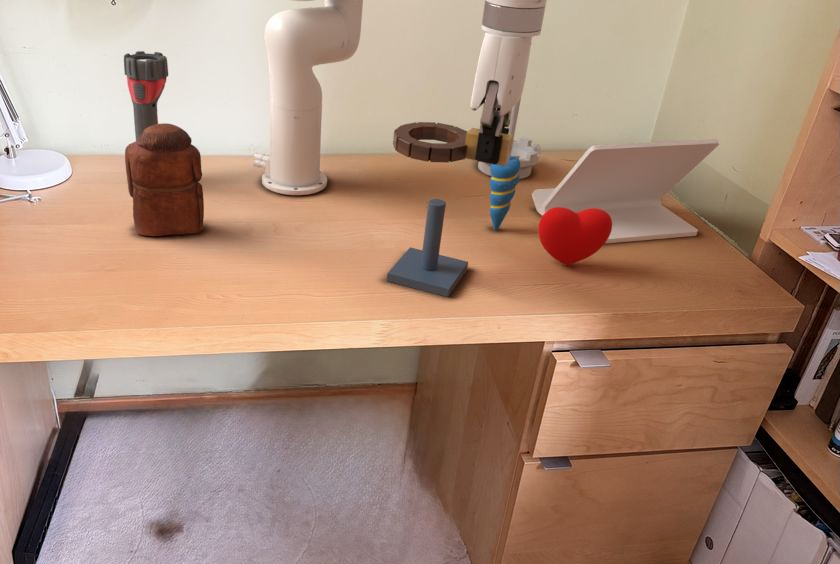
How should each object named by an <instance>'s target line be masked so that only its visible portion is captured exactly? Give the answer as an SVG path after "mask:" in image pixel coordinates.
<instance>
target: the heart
mask: <svg viewBox="0 0 840 564" xmlns="http://www.w3.org/2000/svg"><path fill="white" fill-rule="evenodd" d="M538 222H539V223H538V229H537V231H538V238H539V241H540V243H541V245H542V247H543V248H544V250H545V251H546V252H547V254H549V256H550V257H552V258H553V259H555V261H557V262H559V263H560V264H562V265H564V266H570V265H573V264H575V263H579V262H581V261H583V260H585V259H588V258H589V257H591V256H593V255H595V254H596V253H597V252H598V251H599V250H600V249H602V247H603V246H604V245H606V243H605V242H606V241H607V239H608V238H609V236H610V233H611V230H612V220H611V217H610V216H609V214H608V213H607V212H605V211H604V210H601V209H597V208H591V209H586V210H583V211H580V212H578V213H575V212H573V211H572V210H570V209H567V208H563V207H555V208H552V209H549V210H548V211H546V212H545V213H544V214H543V216H542V215H541V218H540V219H539V221H538Z"/></svg>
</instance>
